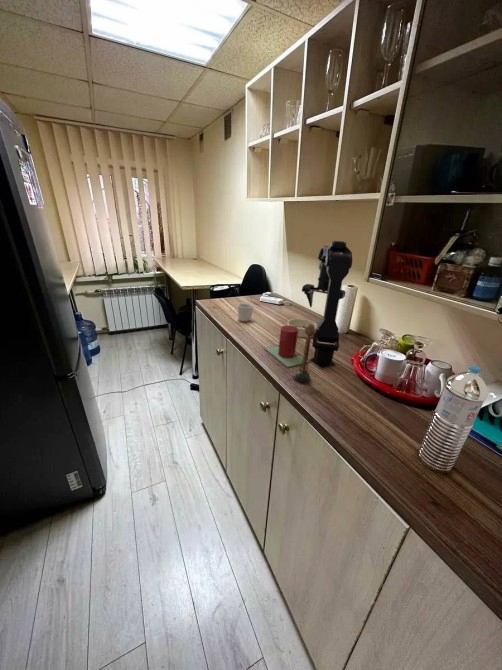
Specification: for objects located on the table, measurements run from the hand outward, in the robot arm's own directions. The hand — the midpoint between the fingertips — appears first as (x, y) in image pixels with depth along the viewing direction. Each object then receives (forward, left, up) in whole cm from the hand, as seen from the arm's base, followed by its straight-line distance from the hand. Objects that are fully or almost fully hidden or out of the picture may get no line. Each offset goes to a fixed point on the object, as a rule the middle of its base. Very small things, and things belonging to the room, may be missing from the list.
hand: (320, 309), depth 127 cm
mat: (-14, +28, -12) cm, 34 cm away
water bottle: (-71, +27, -12) cm, 77 cm away
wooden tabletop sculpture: (-30, +33, -12) cm, 46 cm away
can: (-14, +28, -12) cm, 33 cm away
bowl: (+3, +7, -12) cm, 14 cm away
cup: (+28, +25, -8) cm, 39 cm away
